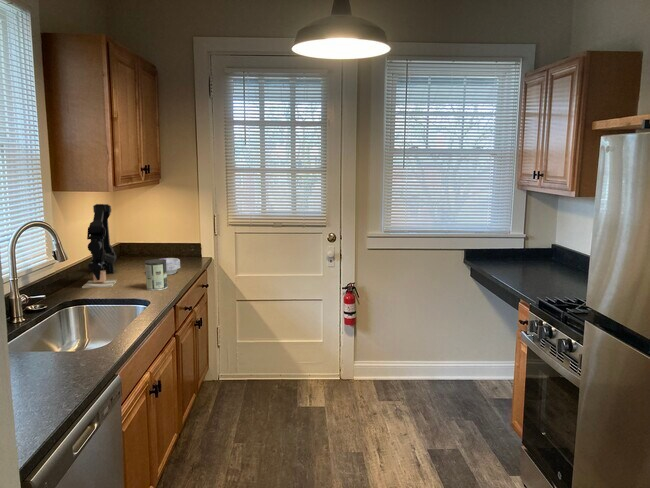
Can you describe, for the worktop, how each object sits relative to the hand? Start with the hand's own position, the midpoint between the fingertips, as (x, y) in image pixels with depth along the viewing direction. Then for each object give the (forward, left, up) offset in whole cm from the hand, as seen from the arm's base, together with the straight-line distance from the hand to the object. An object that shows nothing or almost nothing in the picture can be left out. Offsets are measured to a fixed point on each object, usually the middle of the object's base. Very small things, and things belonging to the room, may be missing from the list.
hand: (99, 278), depth 268 cm
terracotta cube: (0, 0, -1) cm, 1 cm away
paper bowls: (-21, +31, -3) cm, 38 cm away
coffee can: (+13, +30, -3) cm, 33 cm away
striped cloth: (0, 0, -3) cm, 3 cm away
